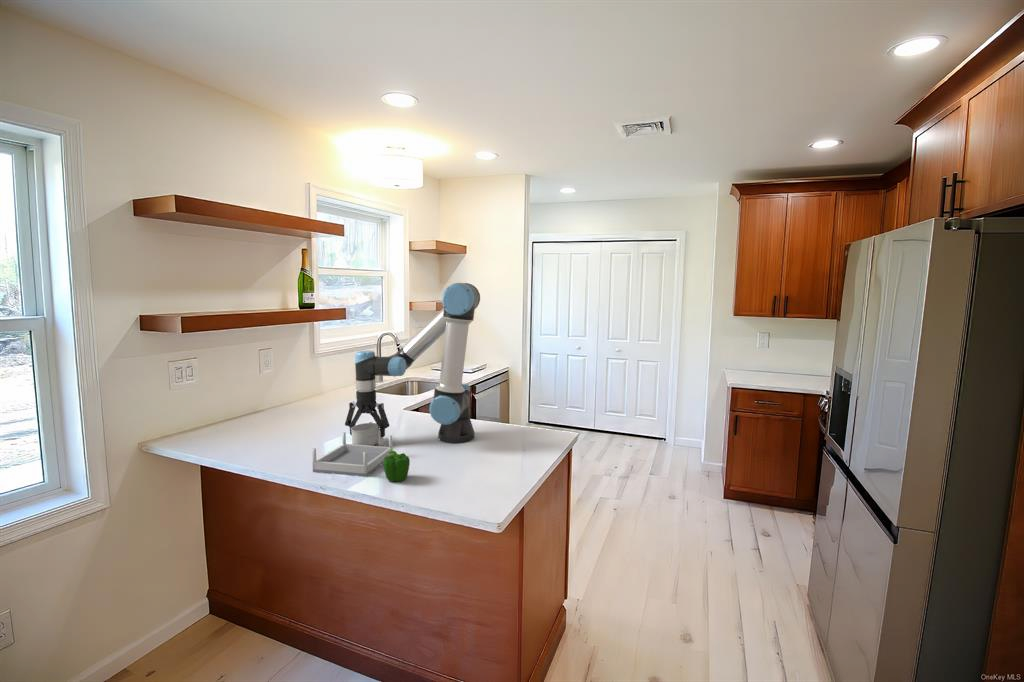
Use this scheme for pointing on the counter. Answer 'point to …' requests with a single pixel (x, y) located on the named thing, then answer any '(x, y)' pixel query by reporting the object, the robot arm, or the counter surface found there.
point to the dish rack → (351, 458)
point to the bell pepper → (396, 466)
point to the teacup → (365, 434)
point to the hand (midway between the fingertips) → (367, 443)
